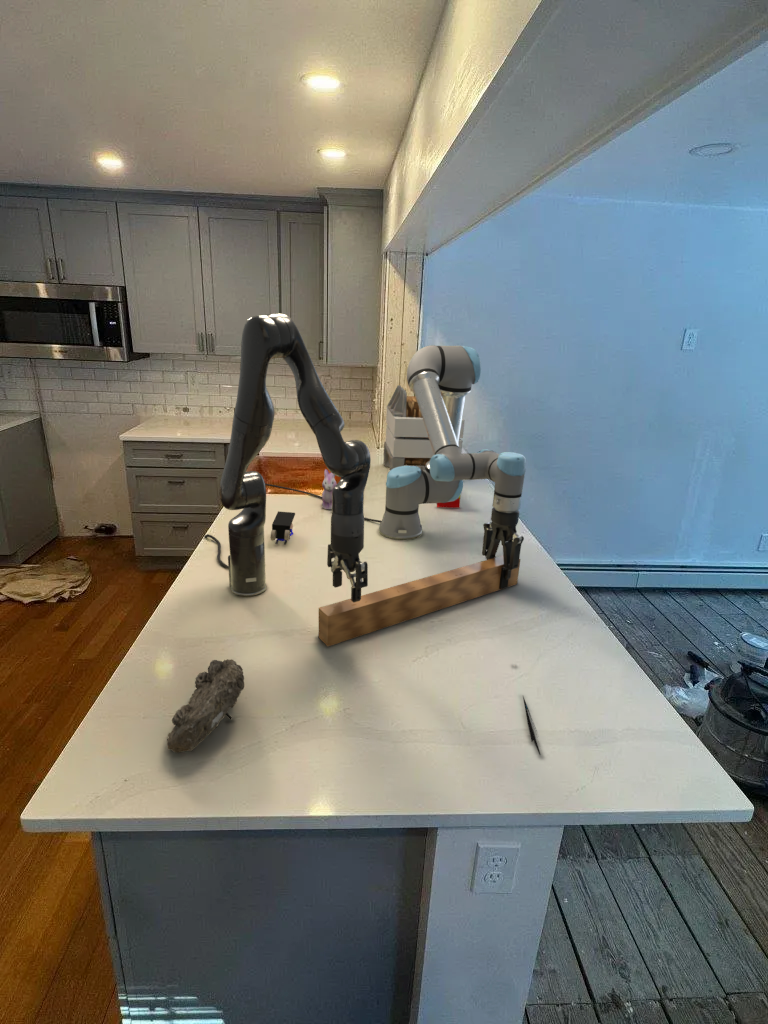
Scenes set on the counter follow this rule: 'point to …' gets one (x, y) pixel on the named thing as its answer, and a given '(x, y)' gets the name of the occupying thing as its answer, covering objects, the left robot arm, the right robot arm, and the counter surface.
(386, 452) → the grey crate
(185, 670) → the counter surface
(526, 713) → the feather
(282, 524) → the black wheeled block
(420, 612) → the bar
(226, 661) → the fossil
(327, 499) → the figurine
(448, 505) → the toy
